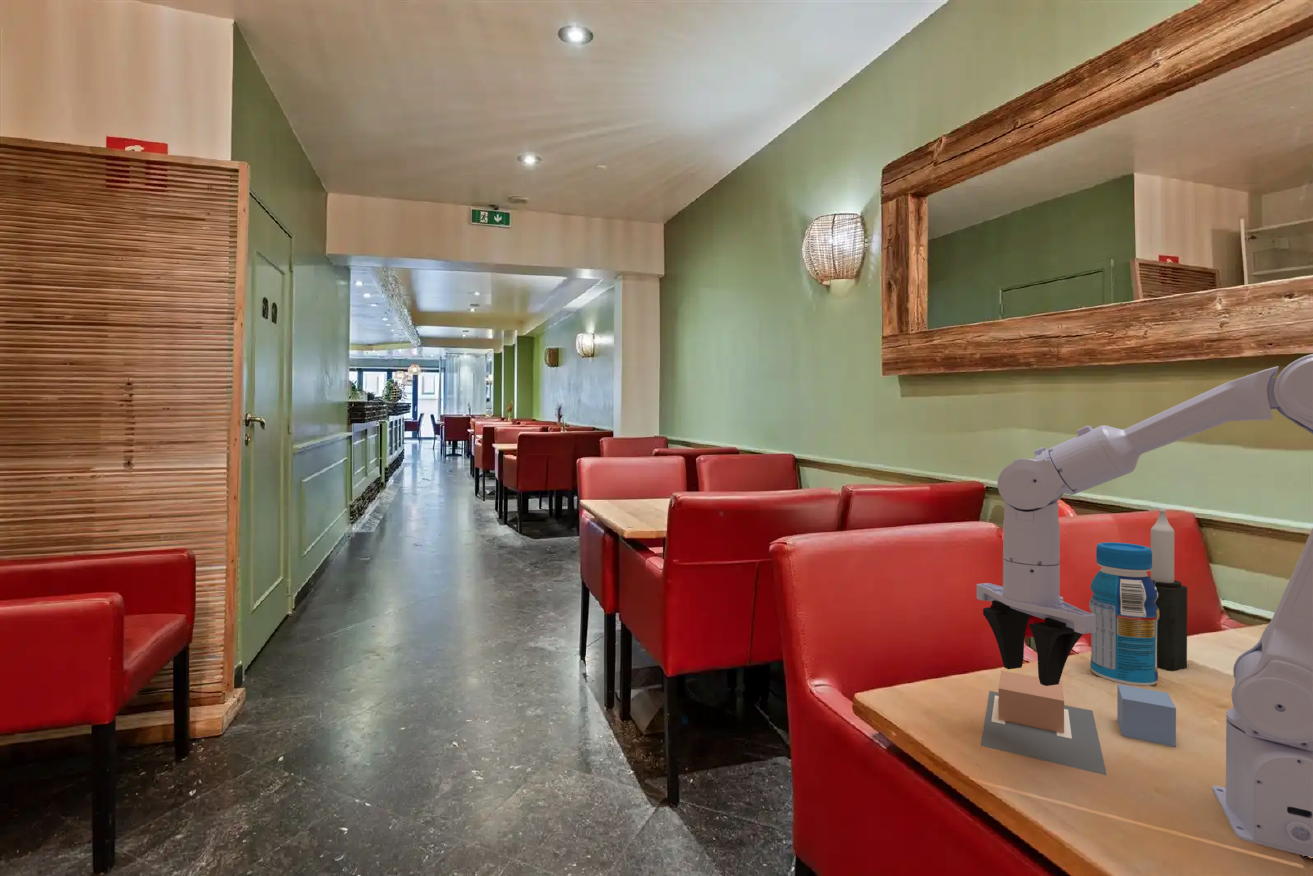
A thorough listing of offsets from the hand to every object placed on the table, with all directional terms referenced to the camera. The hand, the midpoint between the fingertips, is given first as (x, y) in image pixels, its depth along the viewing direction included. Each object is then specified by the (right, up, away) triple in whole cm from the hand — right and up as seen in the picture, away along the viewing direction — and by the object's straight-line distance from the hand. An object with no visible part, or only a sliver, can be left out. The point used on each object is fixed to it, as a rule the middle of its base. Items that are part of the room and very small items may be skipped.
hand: (1030, 675), depth 72 cm
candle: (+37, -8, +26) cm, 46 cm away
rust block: (+4, -8, +7) cm, 12 cm away
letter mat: (+4, -8, +4) cm, 10 cm away
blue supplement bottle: (+27, -9, +21) cm, 35 cm away
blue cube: (+16, -9, +3) cm, 18 cm away
